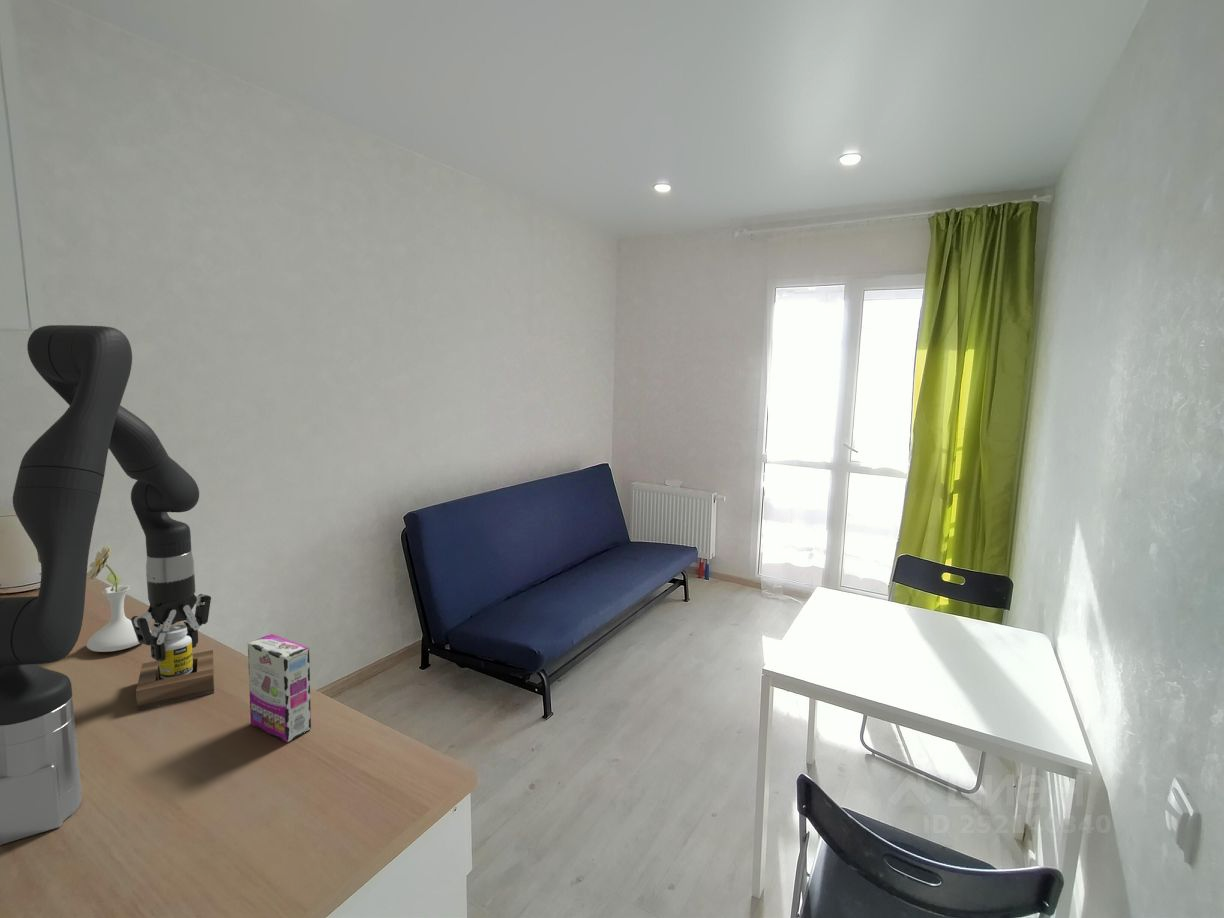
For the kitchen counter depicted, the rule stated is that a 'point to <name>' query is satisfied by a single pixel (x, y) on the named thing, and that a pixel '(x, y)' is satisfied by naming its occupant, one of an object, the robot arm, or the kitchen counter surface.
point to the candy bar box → (279, 686)
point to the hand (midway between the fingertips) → (176, 653)
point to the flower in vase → (112, 612)
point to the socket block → (175, 682)
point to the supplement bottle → (177, 653)
